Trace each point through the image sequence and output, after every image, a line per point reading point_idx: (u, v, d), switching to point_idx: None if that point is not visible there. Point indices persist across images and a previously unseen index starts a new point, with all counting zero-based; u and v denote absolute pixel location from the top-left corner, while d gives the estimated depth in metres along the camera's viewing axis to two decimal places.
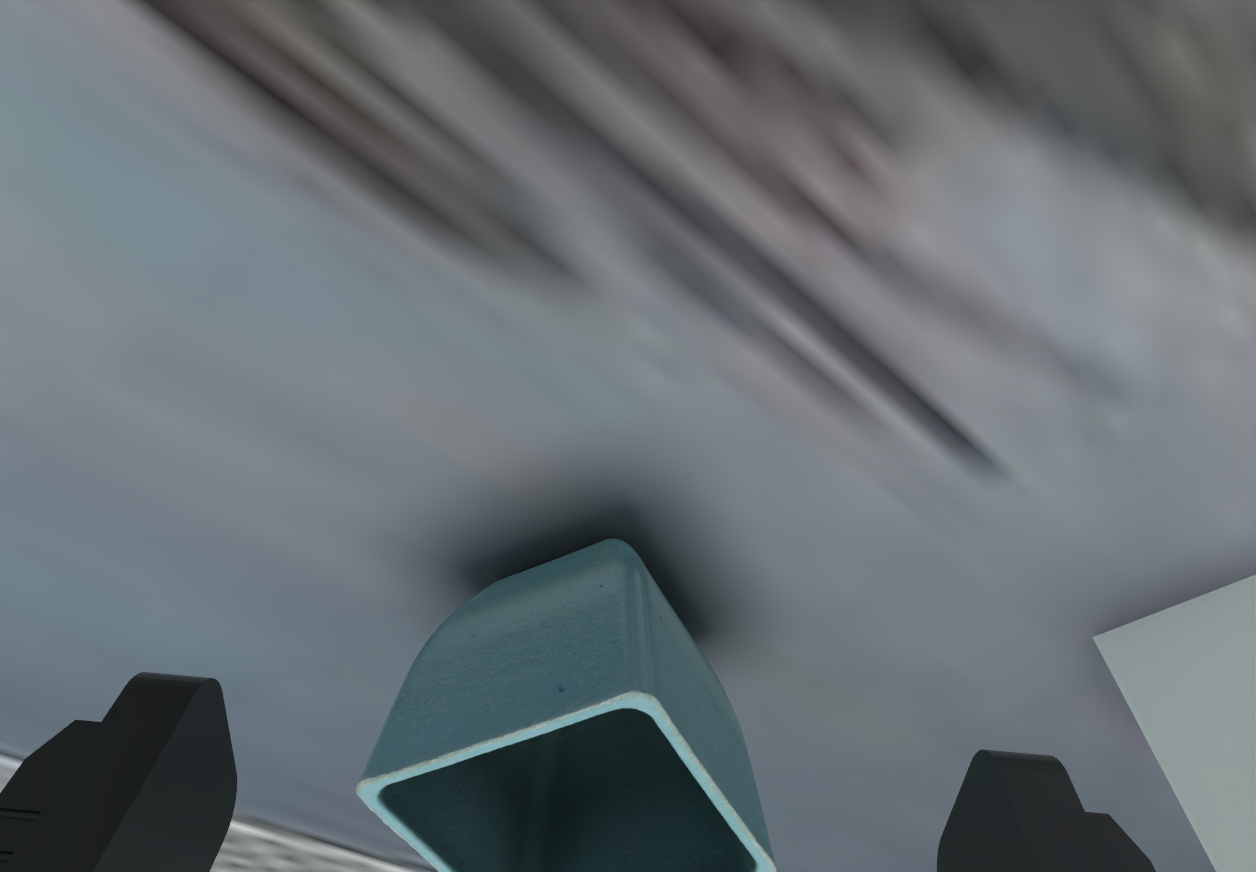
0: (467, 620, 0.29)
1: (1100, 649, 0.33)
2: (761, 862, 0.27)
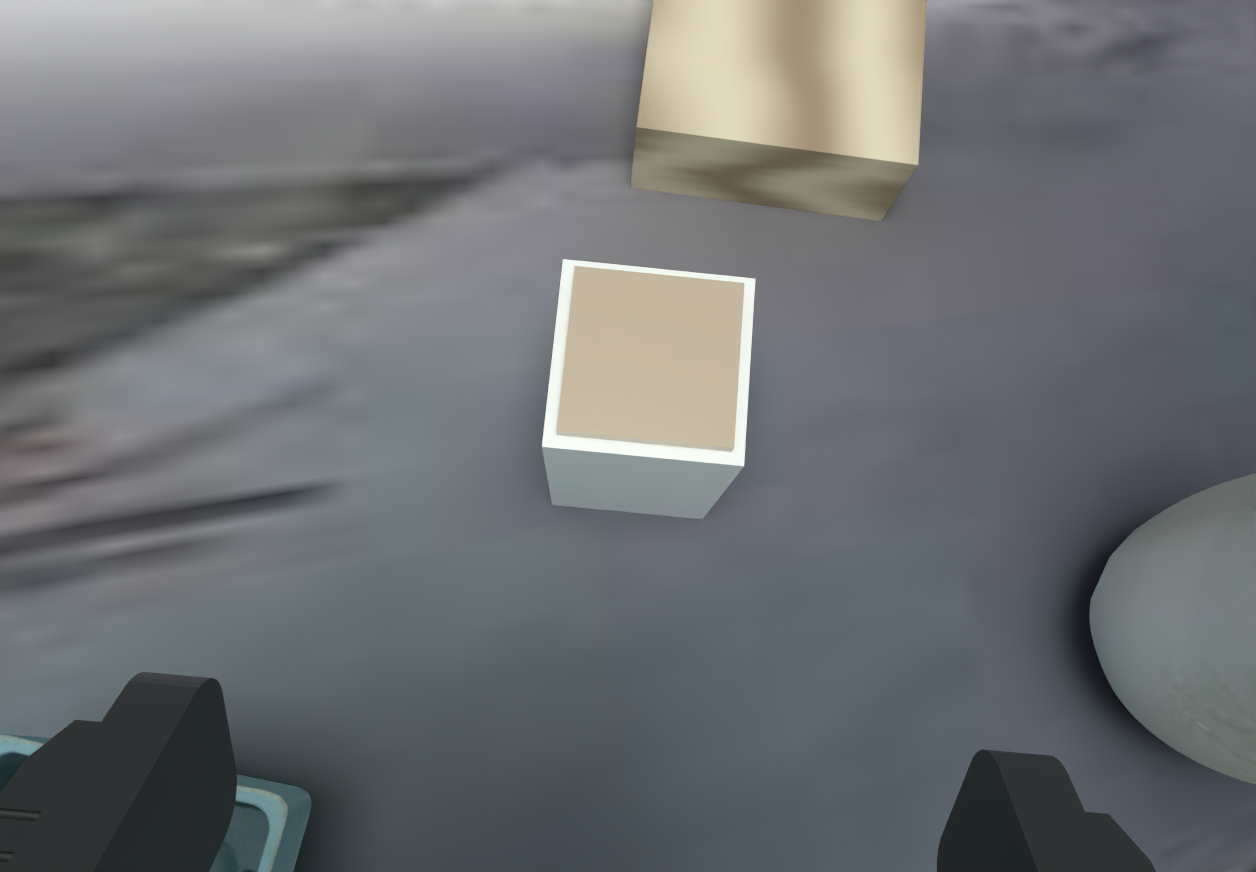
0: None
1: (551, 500, 0.37)
2: (255, 799, 0.26)
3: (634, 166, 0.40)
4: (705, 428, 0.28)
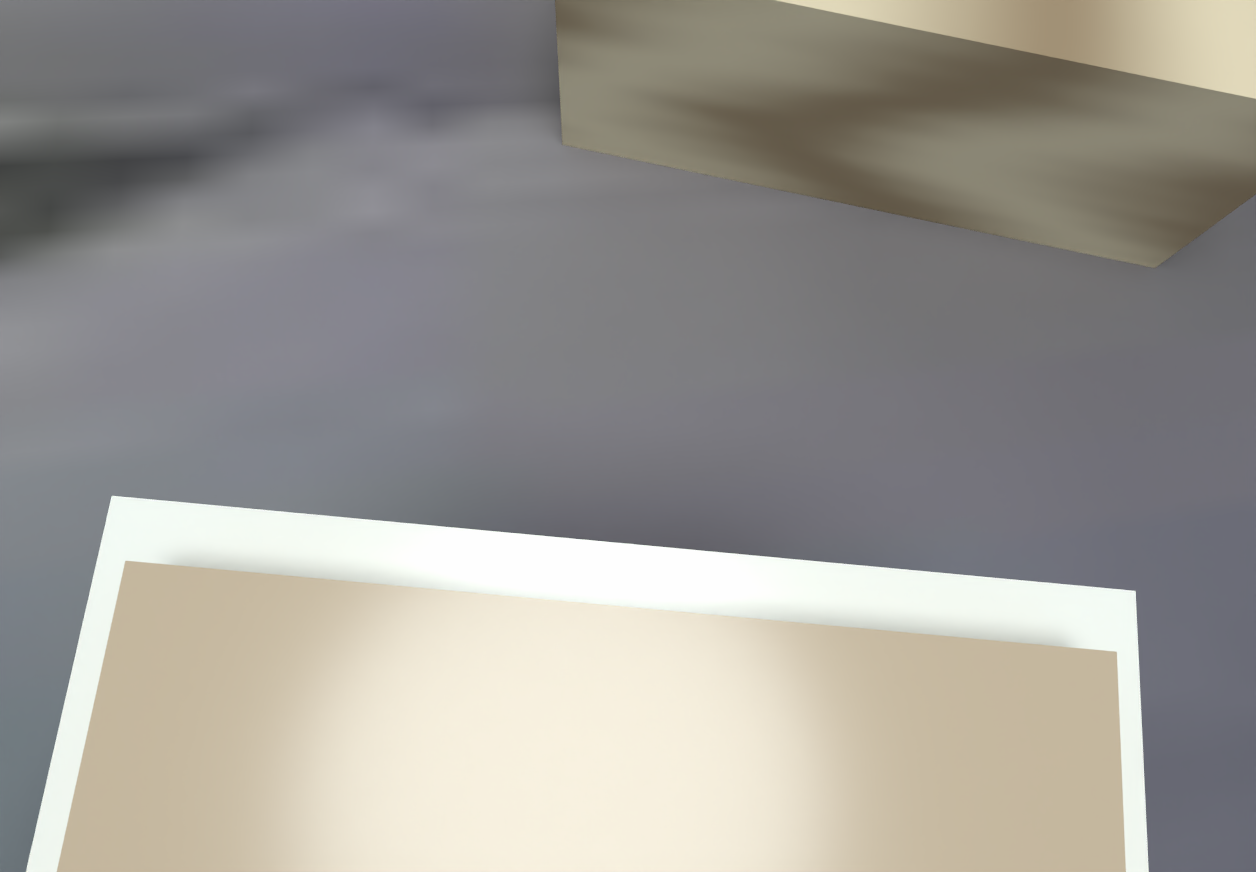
0: None
1: None
2: None
3: (564, 86, 0.16)
4: None
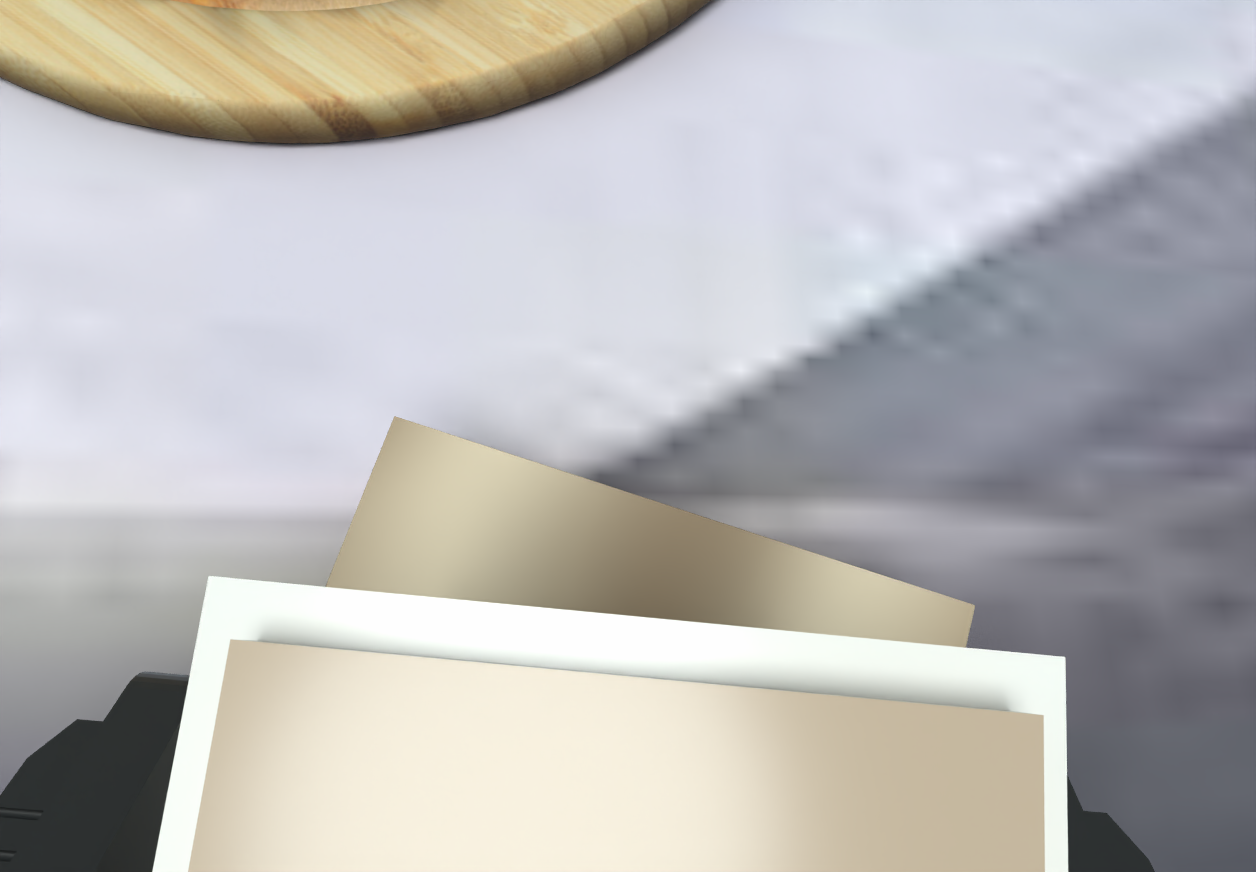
0: None
1: None
2: None
3: None
4: None
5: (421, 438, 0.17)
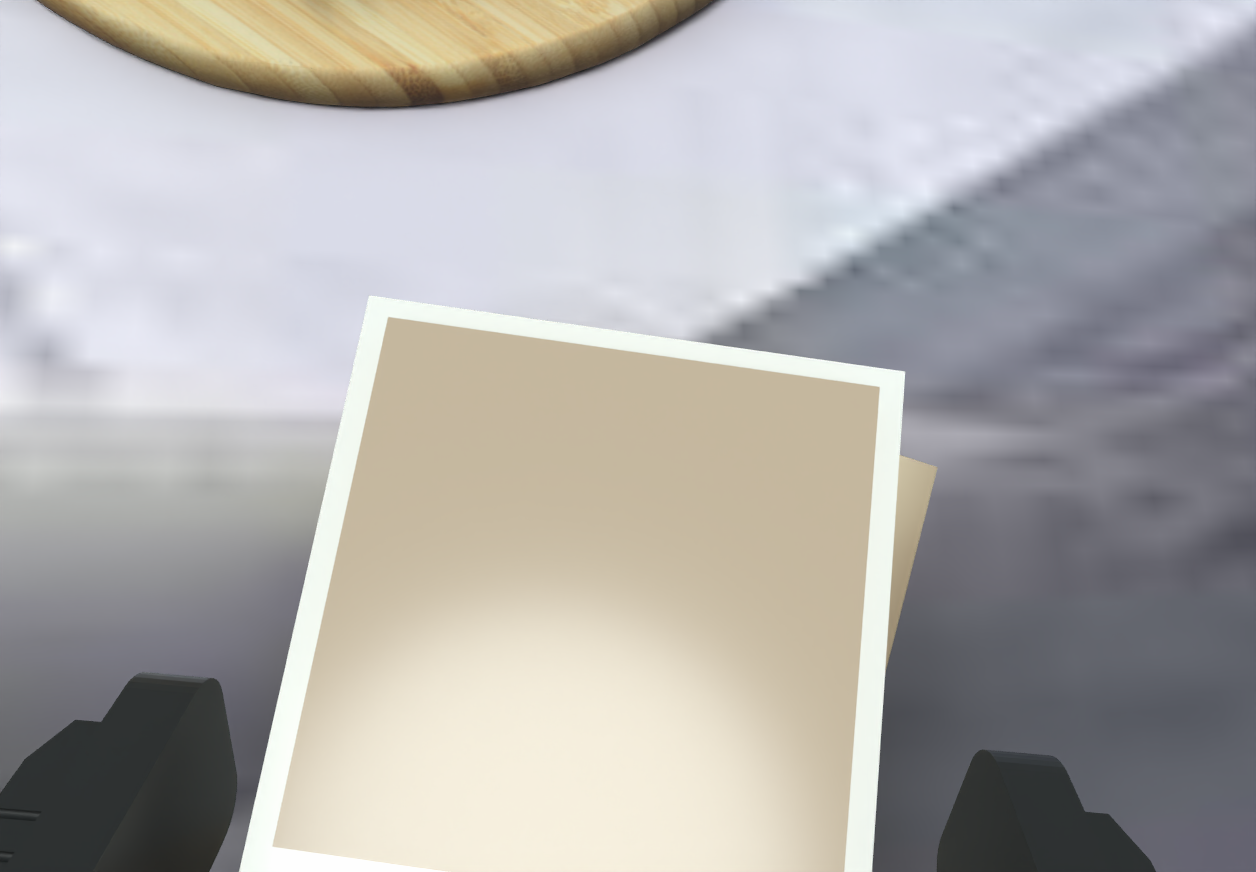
0: None
1: None
2: None
3: None
4: (750, 855, 0.09)
5: None
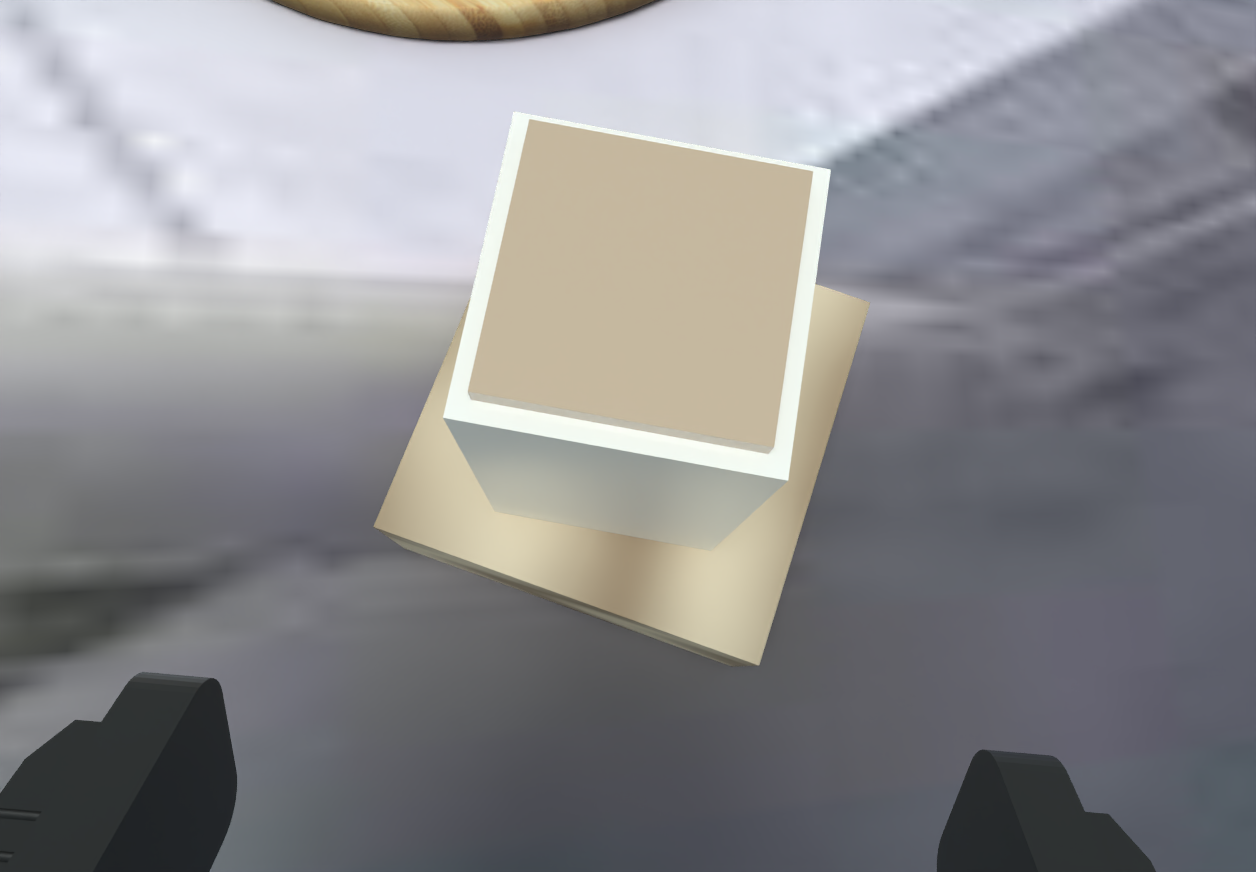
0: None
1: (492, 505, 0.25)
2: None
3: (396, 542, 0.29)
4: (726, 409, 0.16)
5: None
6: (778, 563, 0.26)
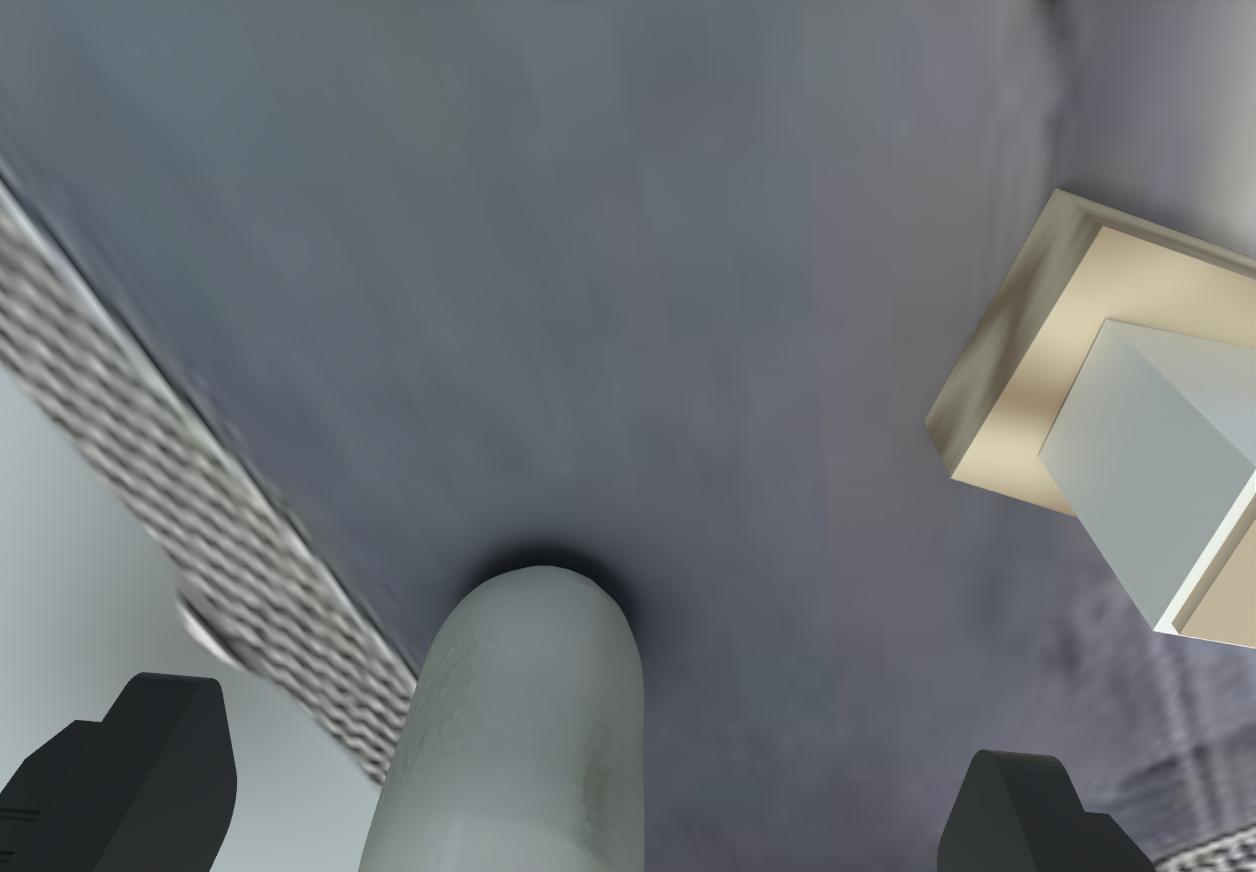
0: None
1: (1114, 326, 0.34)
2: None
3: (1070, 202, 0.35)
4: (1209, 615, 0.28)
5: None
6: (1016, 491, 0.38)
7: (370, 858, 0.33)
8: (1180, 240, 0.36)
